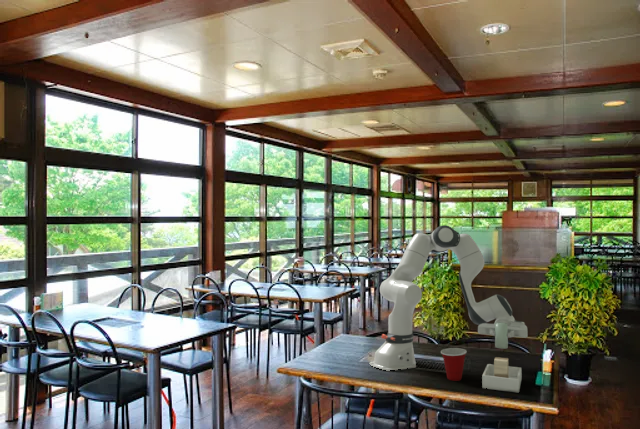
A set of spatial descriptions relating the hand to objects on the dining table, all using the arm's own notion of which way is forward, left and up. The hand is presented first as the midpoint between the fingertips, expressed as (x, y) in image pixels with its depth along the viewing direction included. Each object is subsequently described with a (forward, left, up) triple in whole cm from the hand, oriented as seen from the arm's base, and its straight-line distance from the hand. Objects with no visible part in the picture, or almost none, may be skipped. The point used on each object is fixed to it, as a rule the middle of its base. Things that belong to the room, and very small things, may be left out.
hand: (501, 334), depth 211 cm
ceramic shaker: (+1, 0, -5) cm, 6 cm away
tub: (-4, -3, -19) cm, 20 cm away
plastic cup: (-15, +13, -19) cm, 28 cm away
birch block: (-7, -5, -18) cm, 20 cm away
